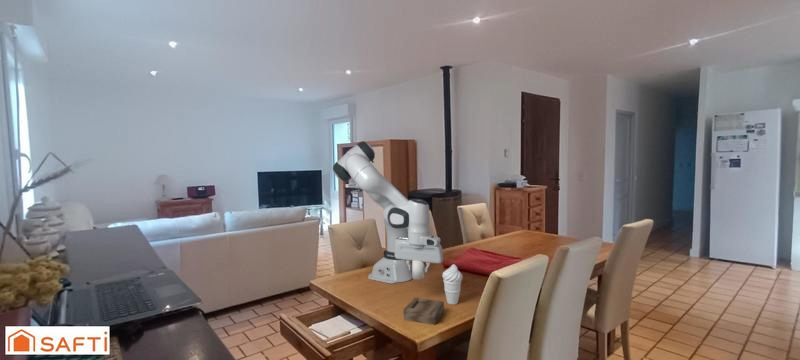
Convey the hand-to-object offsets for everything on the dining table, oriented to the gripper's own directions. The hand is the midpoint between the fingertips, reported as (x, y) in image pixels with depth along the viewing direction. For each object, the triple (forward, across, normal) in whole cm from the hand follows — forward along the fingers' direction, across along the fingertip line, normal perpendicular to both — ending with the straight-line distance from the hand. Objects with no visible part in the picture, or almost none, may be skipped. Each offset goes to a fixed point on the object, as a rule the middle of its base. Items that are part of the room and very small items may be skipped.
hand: (418, 271), depth 153 cm
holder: (+12, +6, -13) cm, 19 cm away
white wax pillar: (+3, 0, 0) cm, 3 cm away
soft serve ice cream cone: (+13, +14, +3) cm, 19 cm away
